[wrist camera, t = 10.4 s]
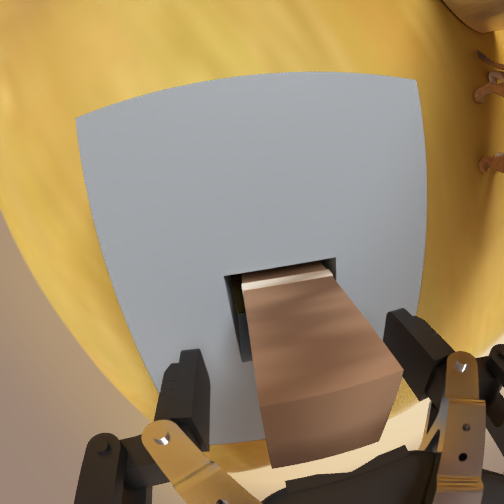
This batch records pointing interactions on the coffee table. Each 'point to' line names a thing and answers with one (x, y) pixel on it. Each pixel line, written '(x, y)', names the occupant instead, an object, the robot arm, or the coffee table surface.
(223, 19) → the coffee table surface
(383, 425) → the walnut peg
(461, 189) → the coffee table surface
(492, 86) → the lion figurine
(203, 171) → the grey rectangular block
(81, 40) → the coffee table surface
